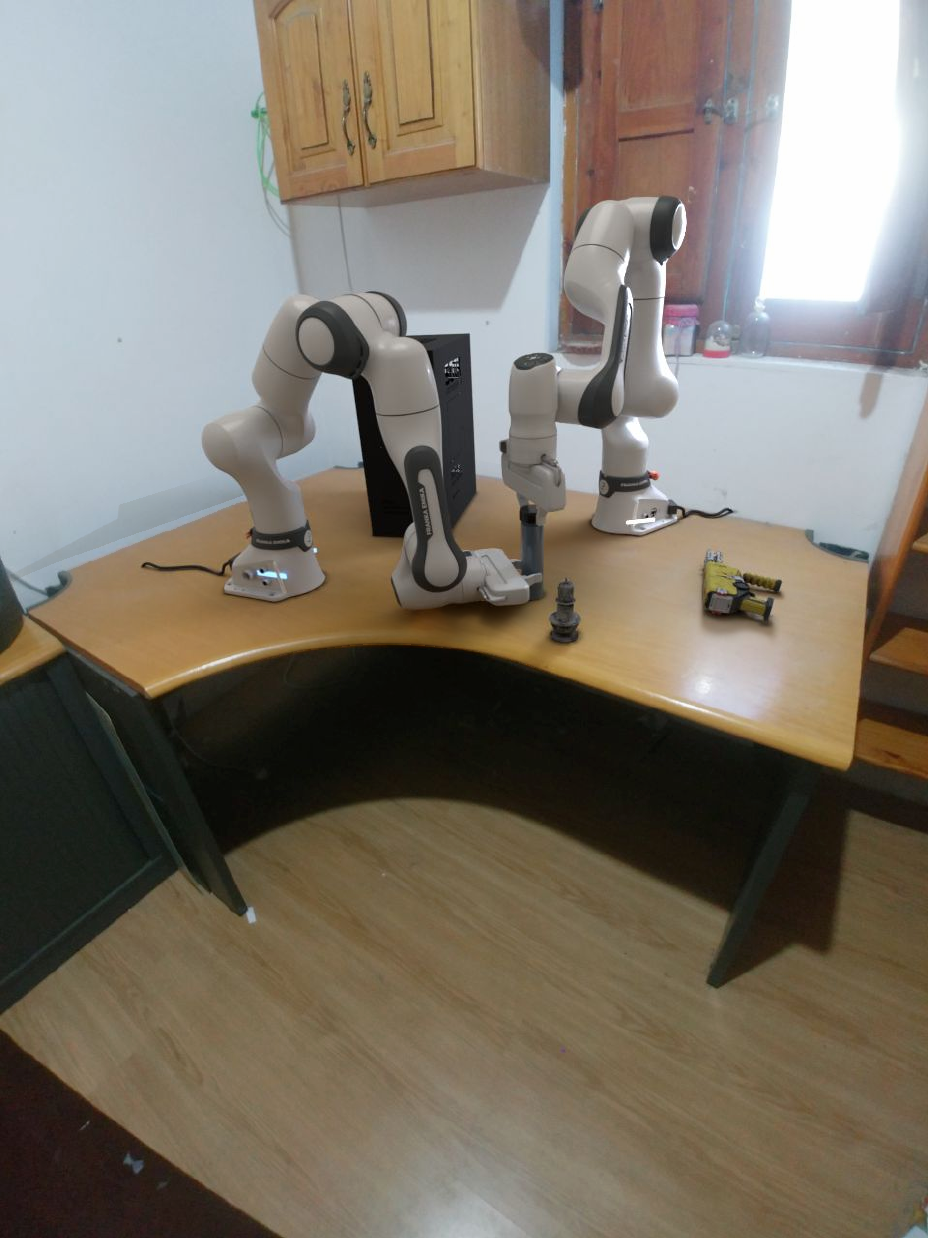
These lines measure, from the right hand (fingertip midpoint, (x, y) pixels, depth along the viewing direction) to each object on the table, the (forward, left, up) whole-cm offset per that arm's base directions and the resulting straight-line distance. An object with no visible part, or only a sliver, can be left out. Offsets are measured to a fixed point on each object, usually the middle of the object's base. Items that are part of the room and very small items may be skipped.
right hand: (532, 519), depth 119 cm
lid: (0, 0, +2) cm, 2 cm away
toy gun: (-37, +21, -17) cm, 46 cm away
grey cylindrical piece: (0, 0, -17) cm, 17 cm away
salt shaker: (+3, +17, -17) cm, 24 cm away
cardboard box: (0, -59, -17) cm, 61 cm away
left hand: (-1, 0, -11) cm, 11 cm away
